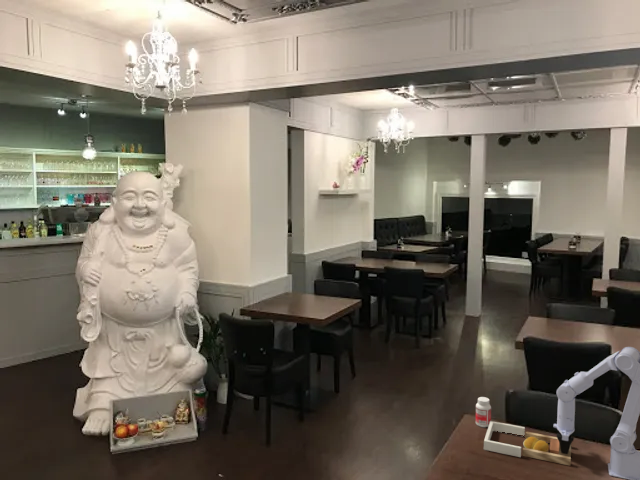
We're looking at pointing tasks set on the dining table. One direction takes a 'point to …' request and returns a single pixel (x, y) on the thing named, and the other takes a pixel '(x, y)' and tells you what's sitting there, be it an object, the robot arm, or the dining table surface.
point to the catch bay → (503, 447)
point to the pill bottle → (483, 412)
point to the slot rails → (545, 455)
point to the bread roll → (536, 444)
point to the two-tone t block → (557, 448)
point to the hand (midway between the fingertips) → (564, 450)
